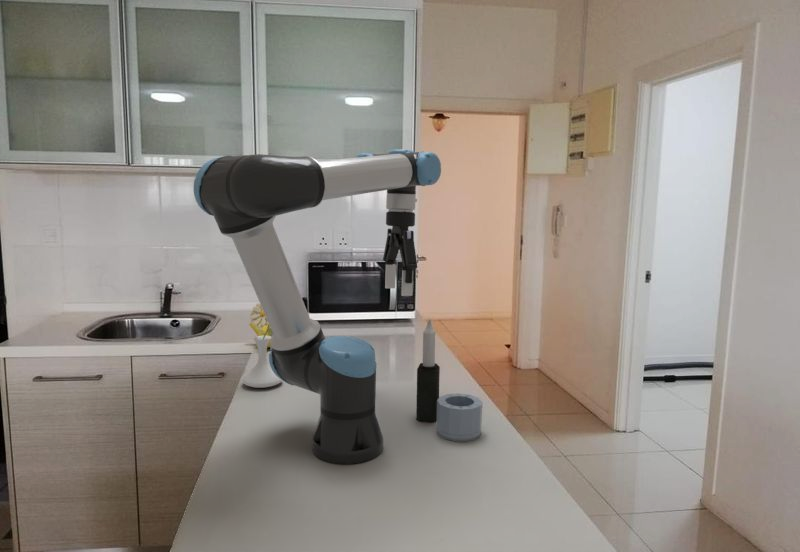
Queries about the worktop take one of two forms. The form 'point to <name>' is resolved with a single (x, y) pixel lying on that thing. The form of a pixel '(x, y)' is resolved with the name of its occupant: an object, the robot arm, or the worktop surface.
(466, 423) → the pale blue faceted cup
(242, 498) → the worktop surface
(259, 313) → the flower in vase
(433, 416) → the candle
